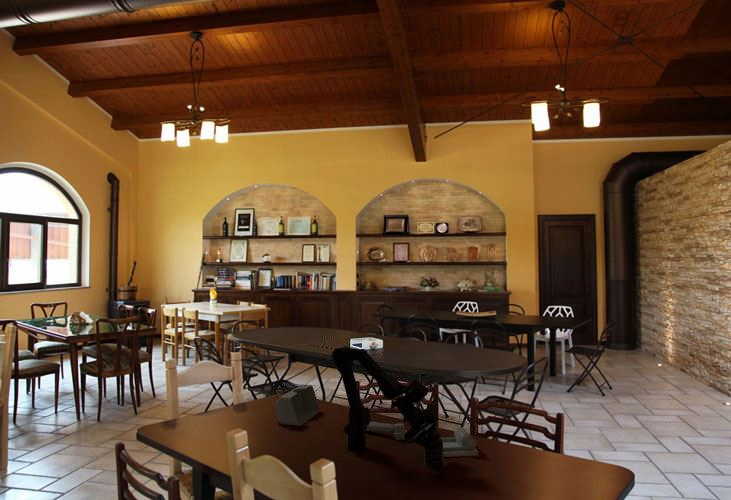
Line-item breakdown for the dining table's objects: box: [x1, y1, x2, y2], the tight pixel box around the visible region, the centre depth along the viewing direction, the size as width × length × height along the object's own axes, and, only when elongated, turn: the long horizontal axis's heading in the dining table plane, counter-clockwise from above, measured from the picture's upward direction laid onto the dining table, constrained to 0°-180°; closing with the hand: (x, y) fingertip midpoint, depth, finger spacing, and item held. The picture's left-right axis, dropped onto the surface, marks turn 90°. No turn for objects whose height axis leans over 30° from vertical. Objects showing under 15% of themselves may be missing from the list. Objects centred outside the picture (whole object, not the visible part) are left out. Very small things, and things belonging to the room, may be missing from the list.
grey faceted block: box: [275, 384, 321, 427], centre depth 241 cm, size 25×16×12 cm, turn 163°
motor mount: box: [440, 426, 479, 458], centre depth 200 cm, size 16×14×6 cm
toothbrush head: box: [364, 421, 408, 441], centre depth 217 cm, size 5×7×25 cm
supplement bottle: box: [423, 429, 444, 469], centre depth 185 cm, size 7×7×12 cm
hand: (437, 447), depth 184 cm, fingers closed on supplement bottle, 7 cm apart
